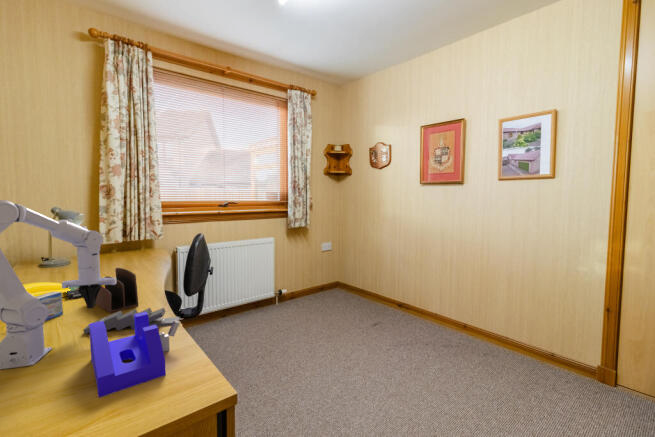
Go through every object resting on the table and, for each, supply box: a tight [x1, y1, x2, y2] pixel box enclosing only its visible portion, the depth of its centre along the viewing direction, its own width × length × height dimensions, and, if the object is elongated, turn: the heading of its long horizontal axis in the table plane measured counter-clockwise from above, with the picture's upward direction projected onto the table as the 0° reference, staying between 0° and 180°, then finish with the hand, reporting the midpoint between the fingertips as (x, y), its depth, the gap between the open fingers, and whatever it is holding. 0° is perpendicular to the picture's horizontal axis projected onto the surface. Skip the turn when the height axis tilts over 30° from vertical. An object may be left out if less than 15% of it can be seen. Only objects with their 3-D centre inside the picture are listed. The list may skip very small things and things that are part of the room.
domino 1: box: [82, 311, 123, 335], centre depth 105 cm, size 5×2×10 cm
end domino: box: [149, 316, 181, 328], centre depth 110 cm, size 5×2×10 cm
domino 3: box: [115, 307, 153, 331], centre depth 107 cm, size 5×2×10 cm
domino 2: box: [105, 308, 139, 332], centre depth 106 cm, size 5×2×10 cm
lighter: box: [159, 320, 180, 353], centre depth 91 cm, size 7×2×8 cm, turn 129°
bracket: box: [88, 312, 167, 399], centre depth 82 cm, size 21×14×10 cm, turn 41°
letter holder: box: [95, 267, 139, 314], centre depth 128 cm, size 10×20×14 cm, turn 53°
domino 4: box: [129, 307, 166, 330], centre depth 109 cm, size 5×2×10 cm
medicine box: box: [35, 291, 64, 322], centre depth 114 cm, size 8×4×9 cm, turn 168°
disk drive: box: [66, 287, 83, 300], centre depth 143 cm, size 10×3×15 cm
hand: (91, 307), depth 103 cm, fingers closed
